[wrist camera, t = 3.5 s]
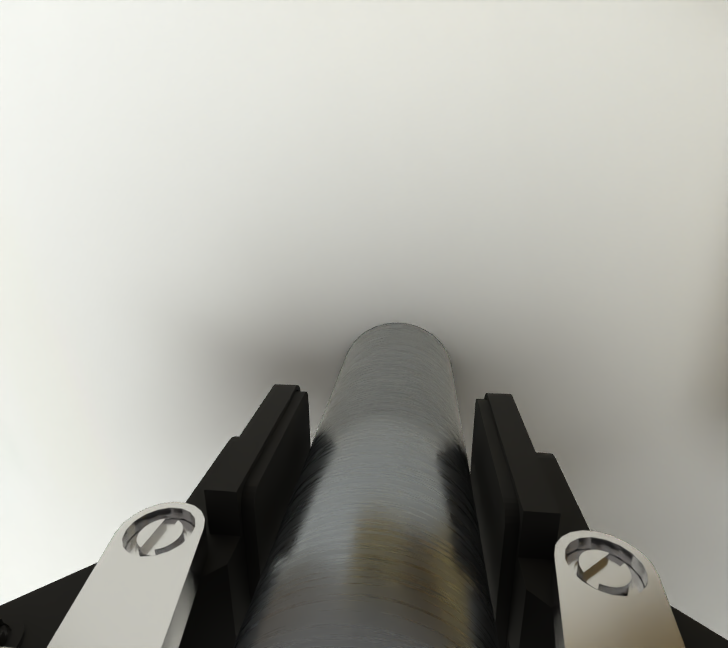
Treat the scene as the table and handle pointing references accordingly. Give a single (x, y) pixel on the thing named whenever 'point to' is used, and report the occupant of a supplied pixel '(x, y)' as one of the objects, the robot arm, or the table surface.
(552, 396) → the table surface
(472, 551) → the pin
